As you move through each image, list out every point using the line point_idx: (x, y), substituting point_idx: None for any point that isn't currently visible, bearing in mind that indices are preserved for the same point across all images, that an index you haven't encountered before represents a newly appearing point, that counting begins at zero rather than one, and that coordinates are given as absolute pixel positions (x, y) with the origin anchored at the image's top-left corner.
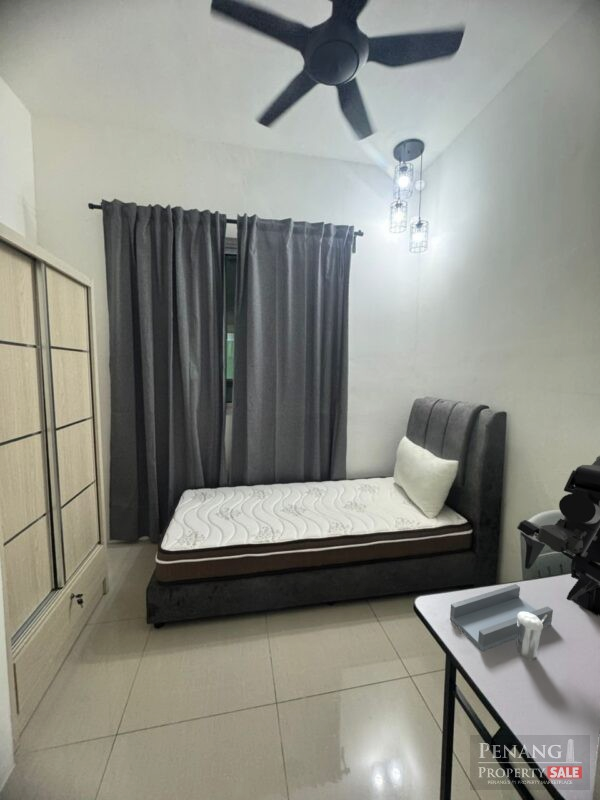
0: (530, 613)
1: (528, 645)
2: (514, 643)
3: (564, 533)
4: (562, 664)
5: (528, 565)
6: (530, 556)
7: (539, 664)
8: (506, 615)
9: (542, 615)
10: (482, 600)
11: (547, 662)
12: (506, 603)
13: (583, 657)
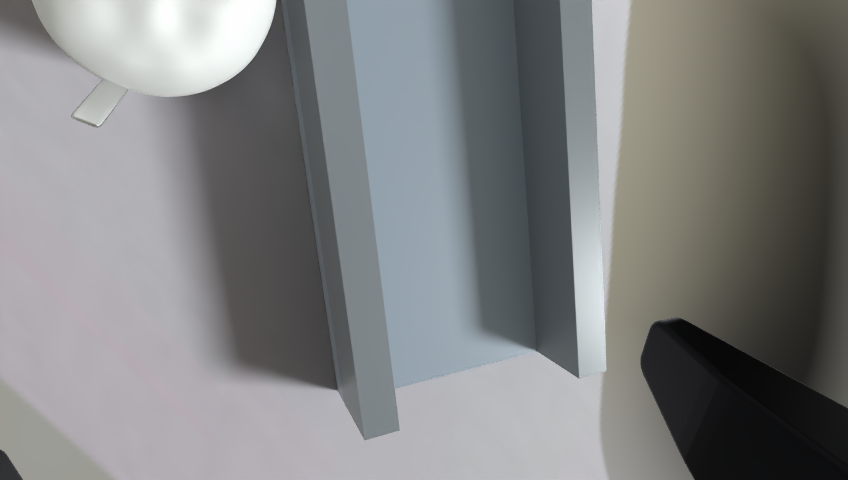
0: (206, 26)
1: None
2: None
3: None
4: (57, 205)
5: (687, 369)
6: (843, 476)
7: None
8: (439, 146)
9: (347, 334)
10: (551, 5)
11: None
12: (516, 230)
13: (88, 386)
